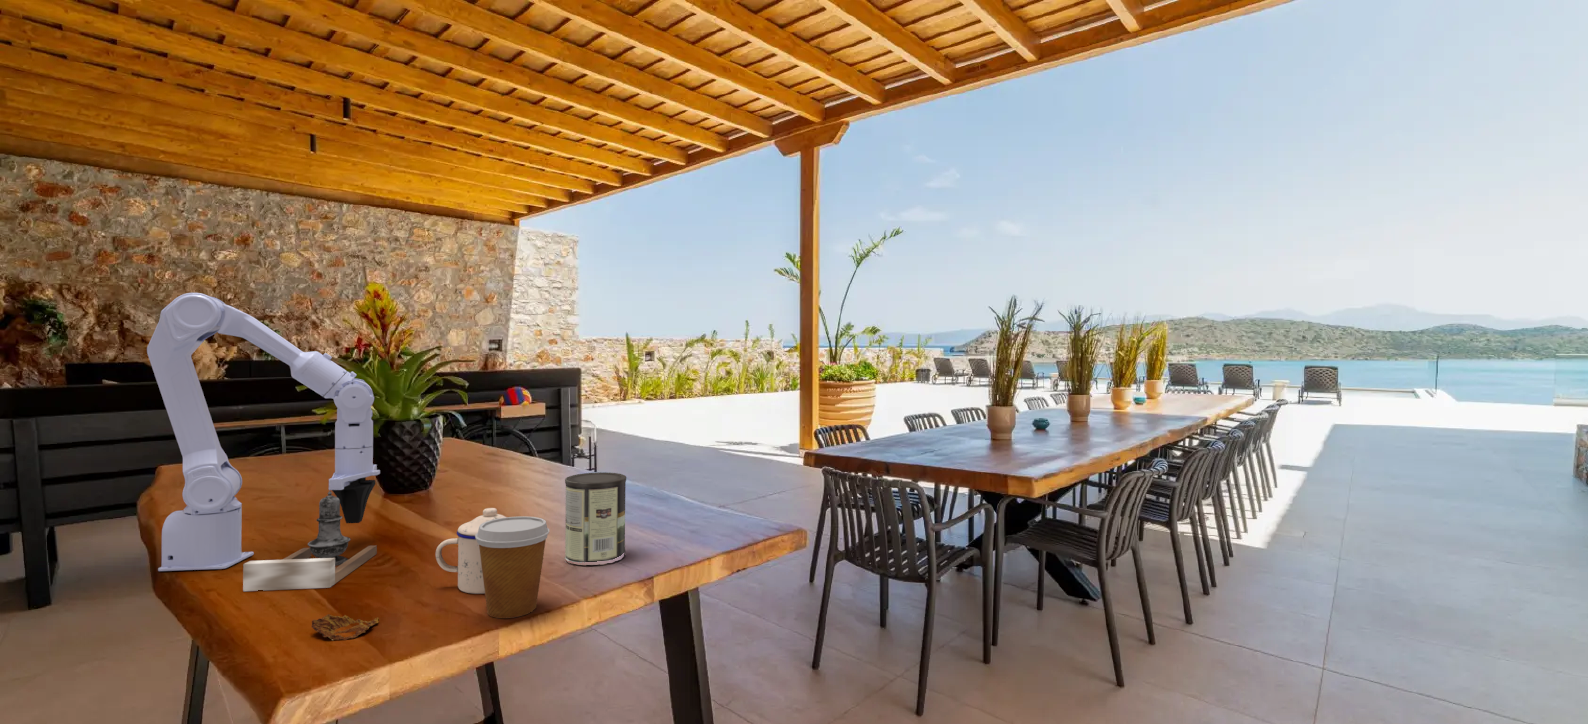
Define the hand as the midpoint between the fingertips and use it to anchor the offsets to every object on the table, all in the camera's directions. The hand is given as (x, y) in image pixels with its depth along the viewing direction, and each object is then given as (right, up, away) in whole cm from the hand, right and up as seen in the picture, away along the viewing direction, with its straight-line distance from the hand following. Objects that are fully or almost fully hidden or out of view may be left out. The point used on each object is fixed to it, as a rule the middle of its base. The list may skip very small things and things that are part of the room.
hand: (354, 522), depth 122 cm
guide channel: (+2, -5, -13) cm, 14 cm away
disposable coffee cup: (+40, -6, -28) cm, 49 cm away
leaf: (+22, -6, -35) cm, 42 cm away
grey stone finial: (+2, -5, -9) cm, 10 cm away
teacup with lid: (+31, -6, -18) cm, 36 cm away
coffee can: (+44, -6, -3) cm, 45 cm away
